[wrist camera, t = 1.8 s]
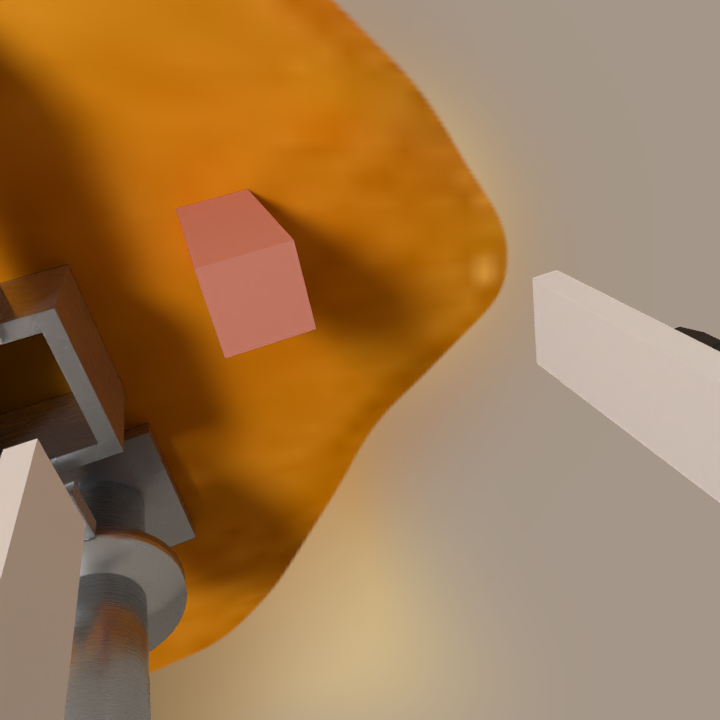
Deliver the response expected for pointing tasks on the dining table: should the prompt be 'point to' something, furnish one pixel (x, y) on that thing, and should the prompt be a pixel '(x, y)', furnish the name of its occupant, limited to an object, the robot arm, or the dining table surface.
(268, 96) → the dining table surface
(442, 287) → the dining table surface
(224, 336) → the wedge pin
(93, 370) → the bracket
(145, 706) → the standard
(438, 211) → the dining table surface
